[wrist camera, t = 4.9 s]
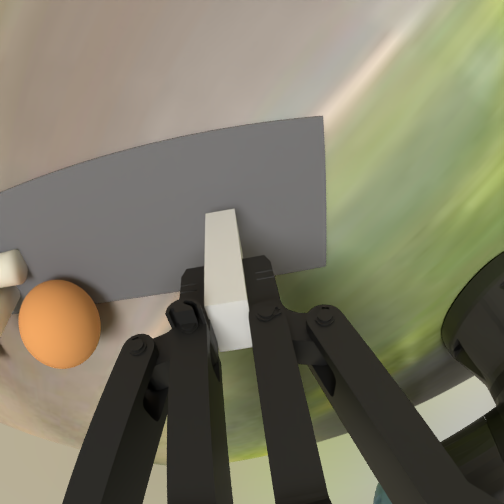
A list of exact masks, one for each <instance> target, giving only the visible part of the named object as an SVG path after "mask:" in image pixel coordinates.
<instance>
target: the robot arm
mask: <svg viewBox="0 0 504 504" xmlns="http://www.w3.org/2000/svg"><path fill="white" fill-rule="evenodd" d="M165 314H166V316H167V318H168V321H169V323H170V325H171V327H172V329H171V330H170V331H169V332H167V333H165V334H163V335H161V336H159V337H156V338H154V339H152V338H151V337H150V336H149V335H146V334H137V335H135V336H132V337H131V338H129V339H128V340H127V341H126V342H125V344H124V345H123V347H122V349H121V352H120V354H119V356H118V358H117V361H116V363H115V365H114V367H113V370H112V372H111V374H110V377H109V379H108V381H107V384H106V386H105V389H104V391H103V393H102V396H101V398H100V401H99V403H98V406H97V408H96V411H95V413H94V416H93V418H92V421H91V423H90V426H89V429H88V431H87V434H86V436H85V439H84V442H83V444H82V447H81V450H80V453H79V456H78V458H77V461H76V464H75V467H74V470H73V473H72V476H71V479H70V482H69V485H68V488H67V491H66V494H65V497H64V500H63V503H62V504H142V503H143V500H144V496H145V492H146V488H147V485H148V481H149V477H150V473H151V470H152V466H153V463H154V459H155V455H156V452H157V448H158V445H159V441H160V438H161V434H162V431H163V427H164V424H165V420H166V417H167V414H168V417H167V501H168V504H233V497H232V487H231V478H230V468H229V457H228V446H227V435H226V423H225V411H224V398H223V384H222V370H221V362H220V359H219V356H218V348H219V351H220V352H224V351H231V350H238V349H244V348H250V347H253V354H254V361H255V368H256V375H257V382H258V389H259V396H260V403H261V410H262V417H263V424H264V431H265V438H266V444H267V451H268V457H269V464H270V471H271V477H272V484H273V490H274V496H275V503H276V504H332V503H331V501H330V499H329V496H328V492H327V488H326V483H325V479H324V475H323V470H322V466H321V461H320V457H319V452H318V448H317V444H316V439H315V435H314V431H313V426H312V422H311V418H310V414H309V409H308V405H307V401H306V397H305V392H304V388H303V384H302V380H301V376H300V371H299V367H298V364H306V365H308V367H309V368H310V370H311V372H312V373H313V375H314V377H315V378H316V380H317V382H318V383H319V385H320V387H321V388H322V390H323V392H324V393H325V395H326V397H327V398H328V400H329V401H330V403H331V405H332V406H333V408H334V410H335V411H336V413H337V415H338V416H339V418H340V420H341V421H342V423H343V425H344V426H345V428H346V429H347V431H348V433H349V434H350V436H351V438H352V439H353V441H354V443H355V444H356V446H357V447H358V449H359V451H360V452H361V454H362V456H363V457H364V459H365V461H366V462H367V464H368V465H369V467H370V469H371V470H372V472H373V473H374V475H375V477H376V478H377V480H378V482H379V483H378V485H377V488H376V491H375V496H374V503H373V504H504V253H502V254H501V255H499V256H498V257H496V258H495V259H494V260H492V261H491V262H490V263H489V264H488V265H486V266H485V267H484V268H483V269H482V270H481V271H480V272H479V273H478V274H477V275H476V276H475V277H474V278H473V279H472V280H471V281H470V283H469V284H468V285H467V286H466V287H465V289H464V290H463V291H462V292H461V294H460V295H459V296H458V298H457V299H456V301H455V302H454V304H453V305H452V307H451V309H450V310H449V312H448V314H447V316H446V319H445V321H444V324H443V328H442V339H443V341H444V343H445V345H446V347H447V348H448V350H449V352H450V354H451V355H452V356H453V357H454V358H455V359H456V360H457V361H458V362H460V363H461V364H462V365H463V366H464V367H465V368H467V369H468V370H469V371H470V372H471V373H472V374H474V375H475V376H476V377H477V378H478V379H479V380H481V381H482V382H483V383H484V384H485V385H486V386H487V388H488V390H489V391H490V393H491V395H492V397H493V399H494V401H495V403H496V407H495V408H493V409H492V410H491V411H489V412H488V413H486V414H485V415H484V416H482V417H480V418H479V419H477V420H476V421H474V422H473V423H471V424H470V425H468V426H467V427H465V428H463V429H462V430H460V431H459V432H457V433H455V434H454V435H452V436H450V437H449V438H447V439H445V440H443V441H442V442H439V440H438V439H437V437H436V436H435V435H434V433H433V432H432V431H431V429H430V428H429V426H428V425H427V424H426V422H425V421H424V420H423V418H422V417H421V415H420V414H419V413H418V412H417V410H416V409H415V407H414V406H413V405H412V403H411V402H410V401H409V399H408V398H407V397H406V395H405V394H404V392H403V391H402V390H401V388H400V387H399V386H398V384H397V383H396V382H395V381H394V379H393V378H392V377H391V375H390V374H389V373H388V371H387V370H386V369H385V367H384V366H383V365H382V363H381V362H380V361H379V359H378V358H377V357H376V356H375V354H374V353H373V352H372V350H371V349H370V348H369V346H368V345H367V344H366V343H365V341H364V340H363V339H362V337H361V336H360V335H359V334H358V332H357V331H356V330H355V329H354V327H353V326H352V325H351V323H350V322H349V321H348V320H347V318H346V317H345V316H344V315H343V313H342V312H341V311H340V310H339V309H338V308H336V307H334V306H332V305H318V306H315V307H314V308H312V309H311V310H310V311H309V312H308V313H298V312H293V311H290V310H288V309H287V308H285V307H284V306H283V305H282V303H281V301H280V297H279V293H278V289H277V285H276V281H275V277H274V273H273V269H272V265H271V261H270V260H269V259H268V258H267V257H266V256H265V255H261V256H255V257H250V258H244V259H243V253H242V247H241V242H240V236H239V231H238V225H237V220H236V214H235V209H229V210H223V211H217V212H212V213H206V214H205V263H204V266H201V267H195V268H189V269H186V270H185V272H184V274H183V275H182V277H181V287H180V298H179V300H177V301H175V302H173V303H172V304H171V305H170V306H169V307H168V308H167V310H166V313H165ZM484 417H485V418H484ZM485 419H486V420H485Z"/></svg>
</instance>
